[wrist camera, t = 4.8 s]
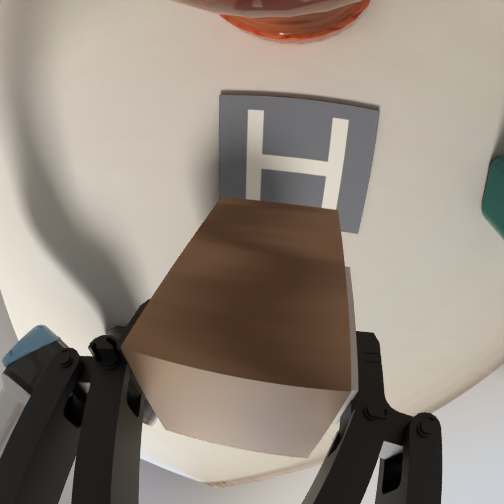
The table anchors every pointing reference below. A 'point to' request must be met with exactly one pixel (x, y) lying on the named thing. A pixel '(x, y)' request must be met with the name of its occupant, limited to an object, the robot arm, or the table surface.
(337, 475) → the robot arm
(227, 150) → the letter mat
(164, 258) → the table surface
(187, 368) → the walnut block
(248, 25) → the potted flower
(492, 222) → the pitcher
